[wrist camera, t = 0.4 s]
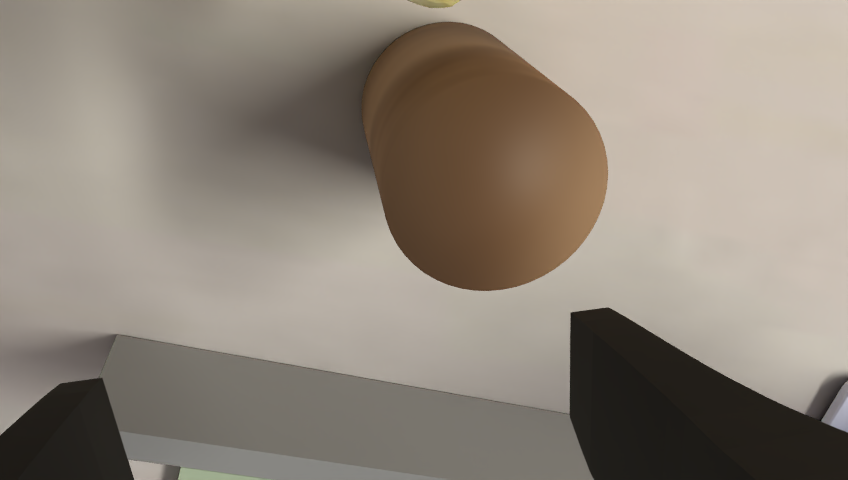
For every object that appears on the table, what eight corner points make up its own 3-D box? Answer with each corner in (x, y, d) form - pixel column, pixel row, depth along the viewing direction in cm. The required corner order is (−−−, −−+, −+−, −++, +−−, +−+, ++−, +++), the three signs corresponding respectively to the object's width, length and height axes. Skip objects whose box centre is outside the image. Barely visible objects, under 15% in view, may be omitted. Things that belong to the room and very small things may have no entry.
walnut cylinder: (550, 49, 20) (643, 110, 14) (494, 202, 21) (558, 309, 16) (388, -1, 19) (422, 44, 13) (342, 165, 20) (356, 265, 15)
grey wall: (620, 423, 25) (672, 512, 22) (611, 442, 26) (660, 533, 22) (117, 334, 21) (79, 425, 18) (112, 358, 22) (74, 452, 18)
